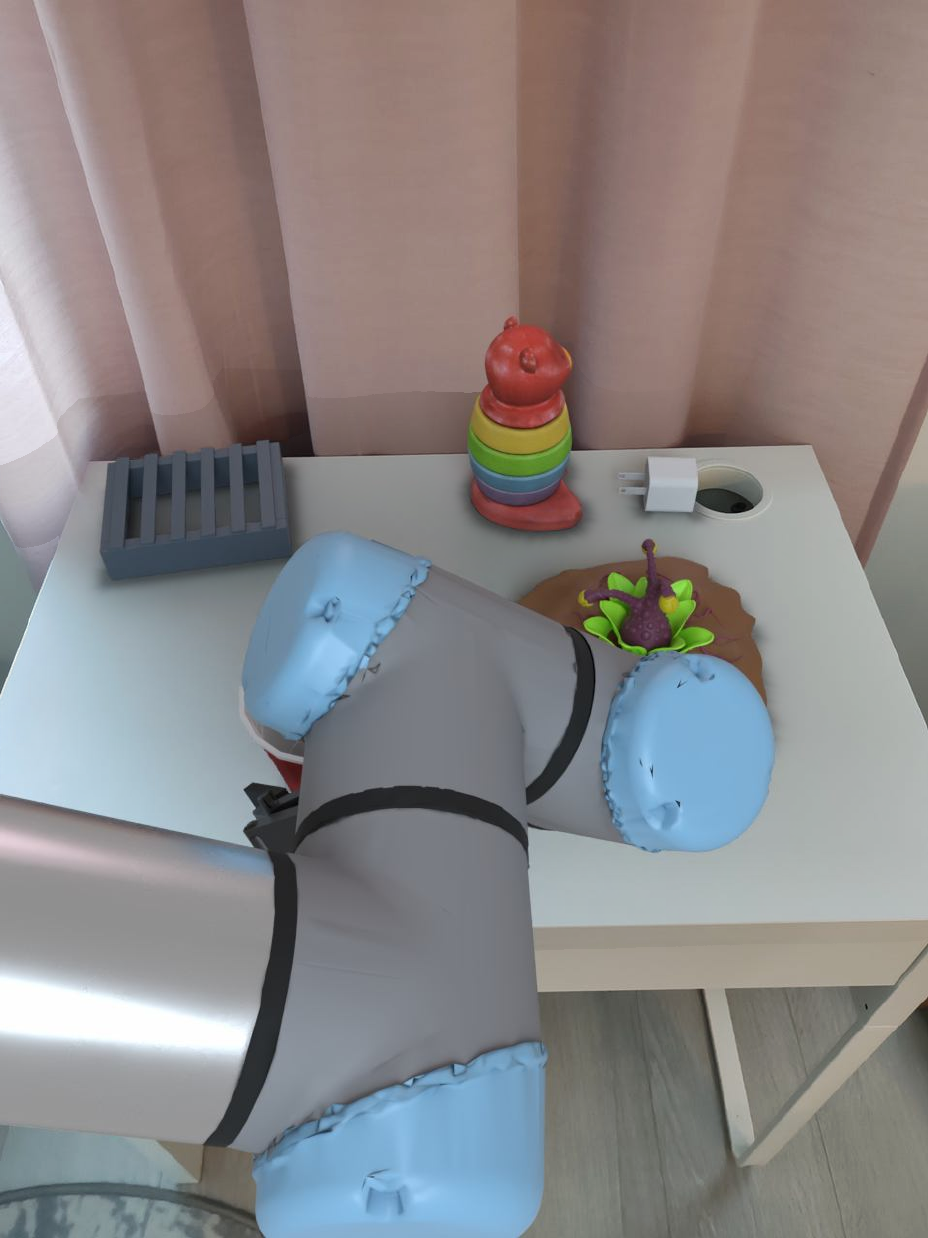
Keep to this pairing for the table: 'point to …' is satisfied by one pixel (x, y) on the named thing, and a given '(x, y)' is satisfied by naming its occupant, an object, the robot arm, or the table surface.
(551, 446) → the stacking bear
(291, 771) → the plastic cup
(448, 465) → the table surface
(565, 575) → the plant
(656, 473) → the usb wall charger
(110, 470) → the dish rack
